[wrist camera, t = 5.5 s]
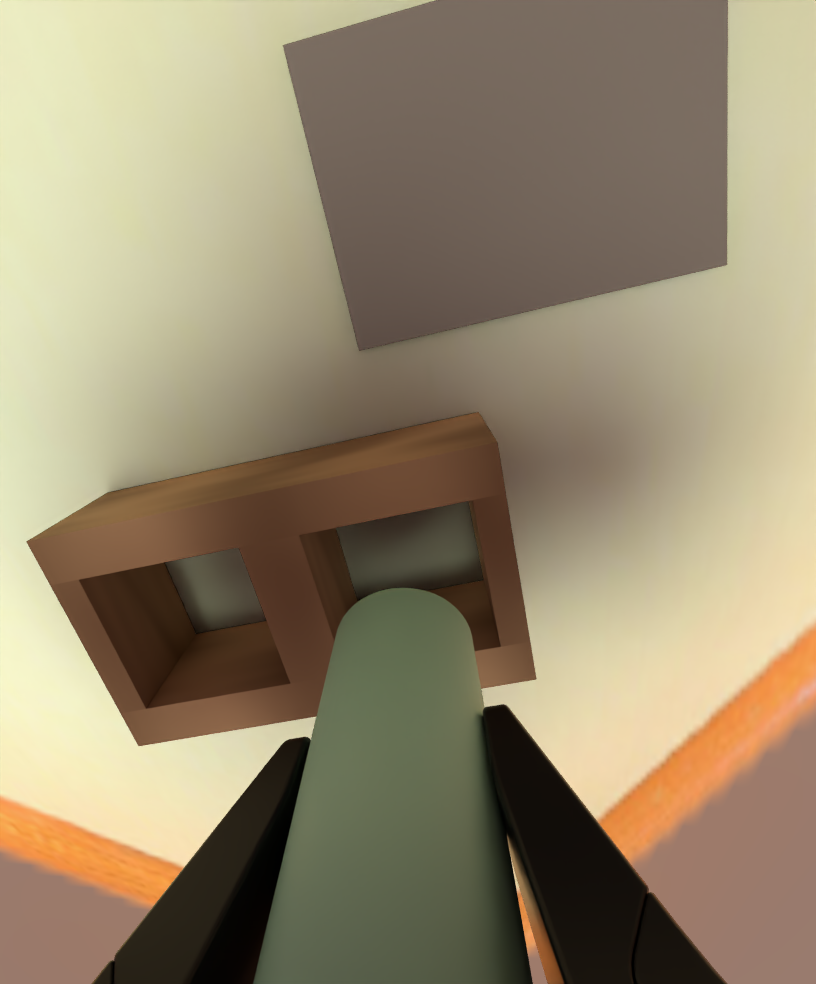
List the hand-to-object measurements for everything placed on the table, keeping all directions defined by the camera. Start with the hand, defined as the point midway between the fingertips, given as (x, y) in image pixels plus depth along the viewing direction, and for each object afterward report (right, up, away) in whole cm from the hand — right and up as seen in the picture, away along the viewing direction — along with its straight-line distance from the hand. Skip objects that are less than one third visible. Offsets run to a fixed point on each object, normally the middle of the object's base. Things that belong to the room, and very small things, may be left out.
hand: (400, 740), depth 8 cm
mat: (+3, +12, +4) cm, 13 cm away
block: (-3, +2, +8) cm, 9 cm away
